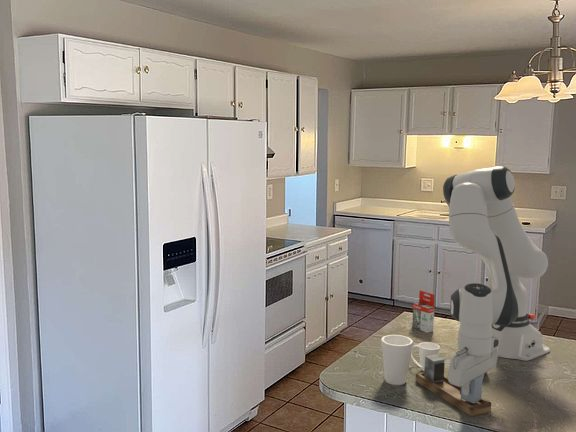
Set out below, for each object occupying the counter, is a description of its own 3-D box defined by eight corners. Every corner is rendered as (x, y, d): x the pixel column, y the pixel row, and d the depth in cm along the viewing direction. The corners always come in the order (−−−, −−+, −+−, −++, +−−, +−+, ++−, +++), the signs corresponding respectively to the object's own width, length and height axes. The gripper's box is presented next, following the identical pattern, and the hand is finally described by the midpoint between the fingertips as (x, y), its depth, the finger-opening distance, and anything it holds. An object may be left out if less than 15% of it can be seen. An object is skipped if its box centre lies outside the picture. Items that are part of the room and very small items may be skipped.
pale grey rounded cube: (481, 399, 159) (482, 375, 157) (473, 403, 156) (475, 379, 155) (466, 393, 162) (467, 370, 161) (458, 397, 159) (460, 374, 158)
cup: (432, 376, 179) (433, 351, 178) (404, 367, 186) (405, 343, 185) (443, 369, 184) (444, 345, 183) (415, 360, 191) (416, 337, 190)
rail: (415, 381, 175) (417, 354, 174) (434, 377, 178) (435, 351, 177) (471, 416, 154) (473, 386, 153) (490, 411, 157) (492, 382, 156)
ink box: (427, 333, 217) (429, 296, 215) (411, 327, 224) (413, 291, 222) (433, 331, 220) (435, 294, 217) (417, 325, 226) (419, 289, 224)
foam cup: (405, 389, 169) (407, 348, 168) (375, 383, 174) (377, 342, 172) (414, 377, 178) (416, 338, 176) (385, 371, 182) (387, 332, 180)
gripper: (464, 356, 147) (462, 407, 149) (503, 338, 161) (499, 384, 163) (443, 350, 152) (441, 398, 154) (482, 332, 165) (479, 377, 167)
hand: (471, 391), depth 158 cm, fingers closed on pale grey rounded cube, 4 cm apart
